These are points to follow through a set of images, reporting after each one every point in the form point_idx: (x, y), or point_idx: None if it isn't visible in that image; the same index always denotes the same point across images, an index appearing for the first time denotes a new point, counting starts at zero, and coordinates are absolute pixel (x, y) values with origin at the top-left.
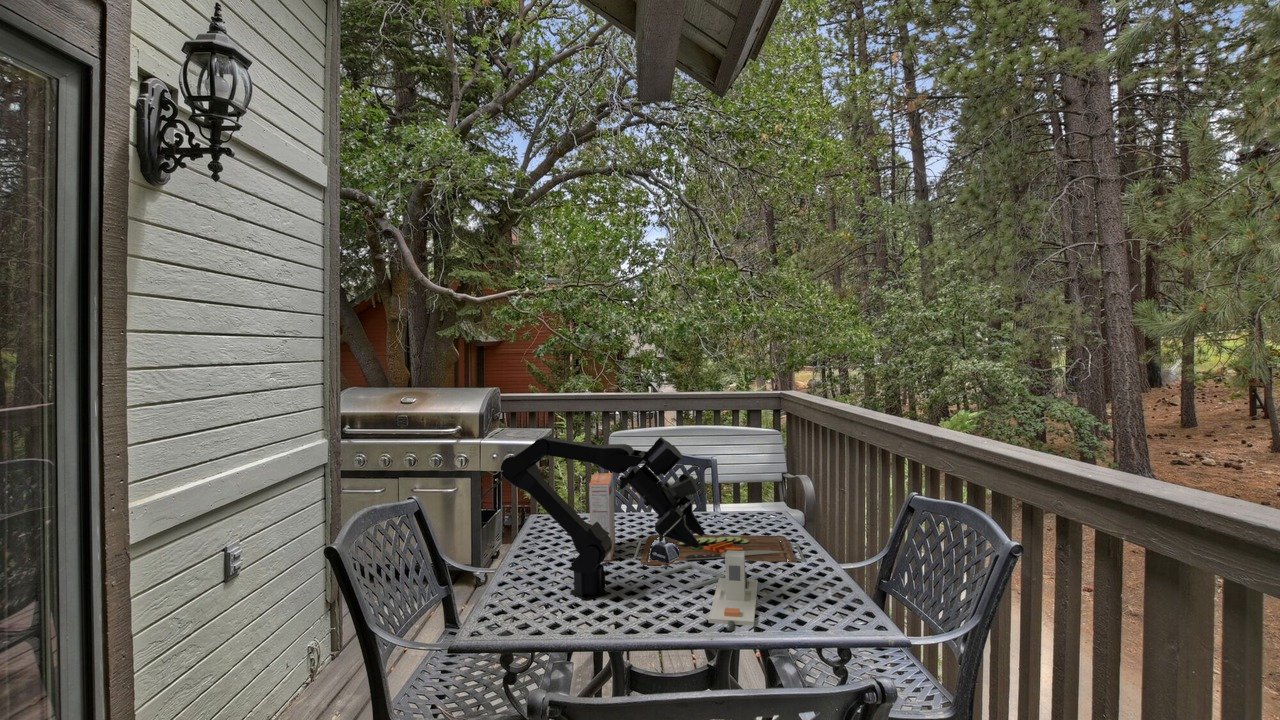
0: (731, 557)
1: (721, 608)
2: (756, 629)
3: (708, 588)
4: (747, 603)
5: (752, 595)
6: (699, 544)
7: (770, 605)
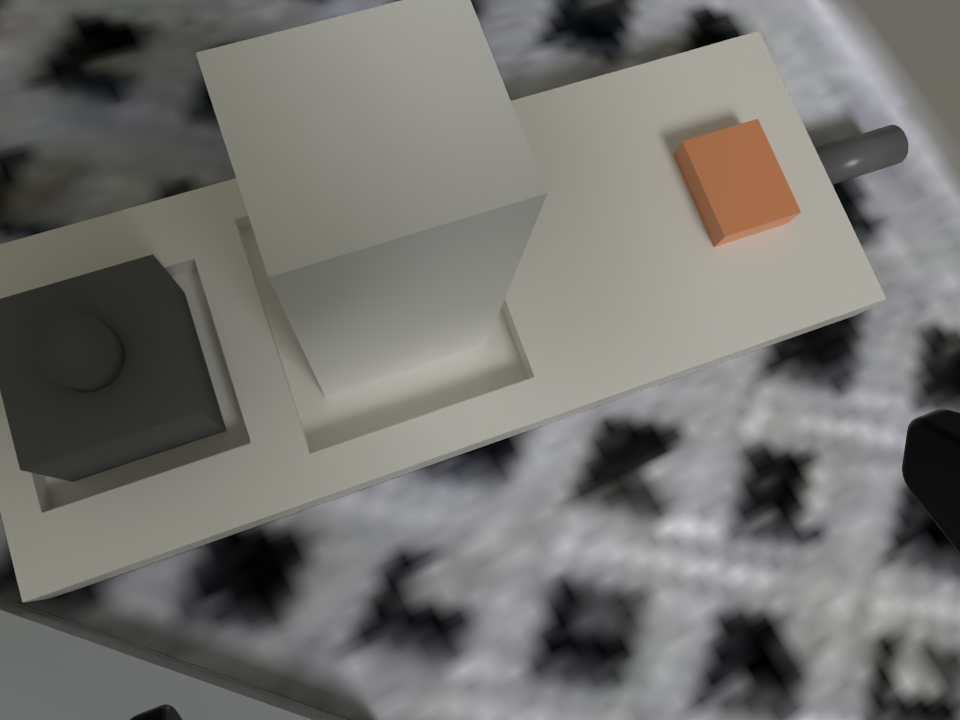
0: (517, 122)
1: (681, 290)
2: None
3: (182, 645)
4: None
5: None
6: (950, 411)
7: None
